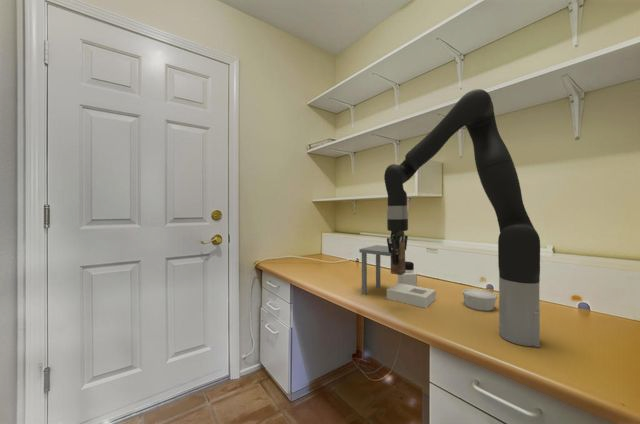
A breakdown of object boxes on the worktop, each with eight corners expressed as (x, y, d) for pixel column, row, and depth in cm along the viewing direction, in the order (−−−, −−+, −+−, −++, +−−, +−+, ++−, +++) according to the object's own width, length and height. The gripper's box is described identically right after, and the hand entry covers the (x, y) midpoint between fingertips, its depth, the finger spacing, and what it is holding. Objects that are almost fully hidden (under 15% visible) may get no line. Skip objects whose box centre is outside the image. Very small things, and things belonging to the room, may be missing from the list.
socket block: (435, 299, 106) (435, 290, 106) (425, 308, 96) (425, 297, 96) (398, 291, 116) (398, 282, 116) (386, 298, 107) (386, 289, 107)
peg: (405, 272, 96) (404, 241, 96) (401, 275, 93) (400, 242, 93) (395, 271, 99) (394, 240, 99) (390, 273, 96) (390, 241, 96)
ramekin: (463, 299, 106) (463, 286, 106) (496, 304, 100) (496, 291, 100) (461, 308, 96) (461, 294, 96) (497, 315, 90) (497, 300, 90)
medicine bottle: (417, 288, 120) (417, 263, 120) (402, 288, 120) (402, 263, 120) (411, 284, 127) (411, 260, 127) (397, 284, 127) (397, 260, 127)
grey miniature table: (404, 291, 116) (404, 247, 116) (389, 301, 104) (388, 252, 104) (376, 285, 125) (376, 245, 125) (359, 293, 113) (359, 249, 113)
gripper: (399, 218, 88) (399, 268, 88) (414, 217, 99) (414, 261, 99) (379, 218, 93) (380, 265, 93) (395, 217, 104) (396, 259, 104)
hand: (398, 263), depth 96 cm, fingers closed on peg, 4 cm apart
